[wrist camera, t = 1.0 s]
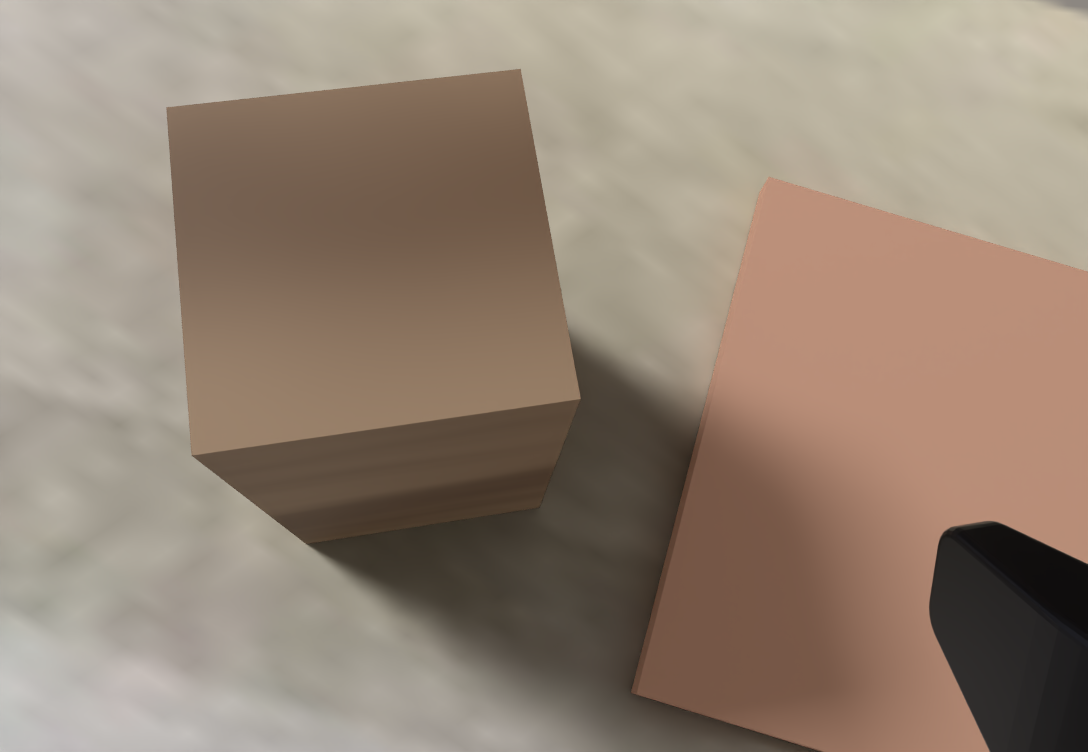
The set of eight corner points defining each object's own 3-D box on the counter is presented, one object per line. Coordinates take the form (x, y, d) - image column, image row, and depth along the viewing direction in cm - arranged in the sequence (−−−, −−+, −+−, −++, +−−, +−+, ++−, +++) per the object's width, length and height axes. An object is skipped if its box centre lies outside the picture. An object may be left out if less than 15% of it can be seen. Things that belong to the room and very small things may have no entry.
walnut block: (539, 507, 22) (580, 398, 13) (306, 544, 21) (191, 455, 13) (503, 293, 23) (520, 69, 15) (284, 323, 23) (166, 106, 14)
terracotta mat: (1193, 867, 21) (1222, 874, 20) (631, 692, 21) (636, 693, 20) (1242, 336, 24) (1268, 325, 23) (759, 192, 24) (768, 176, 24)
